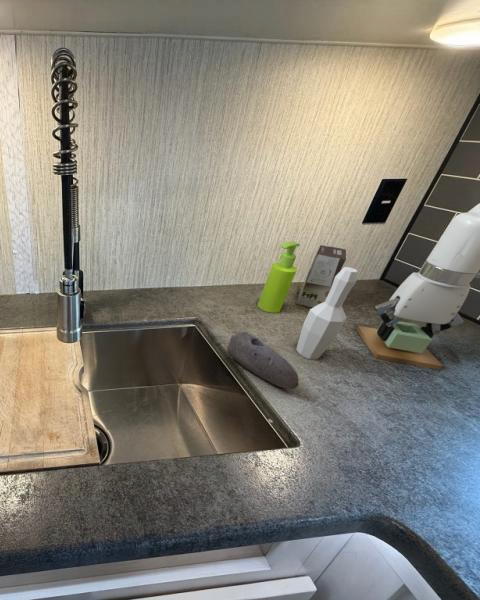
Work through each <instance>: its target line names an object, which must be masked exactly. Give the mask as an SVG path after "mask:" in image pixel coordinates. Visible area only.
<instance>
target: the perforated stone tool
mask: <svg viewBox="0 0 480 600" xmlns="http://www.w3.org/2000/svg"><path fill="white" fill-rule="evenodd" d="M230 336H231V337H230V339H229V342H228V344H227V349H226V351H227V354H228V355H229V356H230V357H231V358H232V359H233V360H234V361H236V362H237V363H238V364H239V365H240V366H241V367H243V368H244V369H246V370H248V371H250V372H251V373H253V374H254V375H256V376H258V377H260V378H261V379H263V380H265V381H267V382H268V383H270V384H272V385H274V386H276V387H280V388H282V389H286V390H294V389H297V388H298V387H299V386H300V385H299V374H298V372H297V371H296V370H295V368H294V367H293V366H292V364H291V363H290V362H288V360H287V359H286V358H284V357H283V356H282V355H281V354H280V353H278V352H277V351H276V350H275V349H274V348H272V347H271V346H270V345H268V344H267V343H265V342H264V341H262V339H259V338H258V337H256V336H254V335H252V334H250V333H249V332H247V331H243V332H237V333H236V334H235V333H234V334H233V335H230Z"/></svg>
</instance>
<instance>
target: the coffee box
mask: <svg viewBox="0 0 480 600" xmlns="http://www.w3.org/2000/svg"><path fill="white" fill-rule="evenodd" d="M346 261H347V249H345V248H341V247H335V246H329V245H322V244H320V245H319V247H318V249H317V251H316V254H315V256H314V258H313V261H312V263H311V265H310V268H309V270H308V272H307V275H306V277H305V279H304V281H303V284H302V286H301V289H300V292H299V294H298V298H297V302H296V303H297V304H298V305H301V306H305V307H309V308H311V309H312V308H313V307H315V306H317V305H319V304H321V303H323V302H325V300H326V298H327V296H328V294H329V292H330V290H331V287H332V284H333V282H334V279H335V276H336V275H337V274H338V273H339V272H340V271H341V270H342V269H343V268H344V267H343V266H344V264H345V262H346Z"/></svg>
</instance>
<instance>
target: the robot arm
mask: <svg viewBox="0 0 480 600" xmlns="http://www.w3.org/2000/svg"><path fill="white" fill-rule="evenodd" d="M474 279H480V203H478V204H476V205H475V206H474V207H473V208H471V209H469V211H467V212H461V213H459V214H456V215H455V216H454V217H453V218H452V219H451V221H450V222H449V224H448V225H447V227H446V229H445V230H444V231H443V233H442V235H441V236H440V238H439V240H438V241H437V242H436V244H435V246H433V249H432V250H431V252H430V254H429V255H428V256H427V258H426V260H425V261H424V263H423V264H422V266H421V268H420V269H419V271H418V272H412V273H411V274H410V275H408V276H407V278H406V279H405V280H404V281H402V283H401V284H400V285H399V286H398V288H397V289H395V291H394V292H393V294H392V295H391V297H390V298H389V300H387V301H385V302H382V303H380V304H376V305H374V310H375V311H376V312H377V314H378V316H379V318H380V319H381V320H382V322H383V323H382V322H381V324H380V325H381V326H380V325H379V327H378V328H379V329H378V328H377V329H378V330H377V334H378V336H379V337H380V338H381V340H383V341H386V340H387V339H388V337H389V336H390V334H391V333H392V331H393V330H394V327H393V325H395V324H396V323H398V322H399V321H400V322H402V320H409V321H415V322H420V323H421V322H422V323H425V326H421V327H420V328H421V329H422V330H423V331H424V332H425V333H426V334H427V335H428V336H429V337H430V338H431V339H432V338H433V336H434V335H439V334H440V333H441V332H442V331H446V330H449V329H451V328H452V327H456V326H459V325H462V324H463V323H464V322H465V321H464V319H463V318H462V317H461V315H460V314H459V311H460V310H461V308H462V306H463V305H464V303H465V301H466V299H467V297H468V295H469V292H470V290H471V284H470V283H471V282H472V281H473V280H474ZM387 310H391V311H389V312H388V313H387Z"/></svg>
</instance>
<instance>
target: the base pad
mask: <svg viewBox="0 0 480 600" xmlns="http://www.w3.org/2000/svg"><path fill="white" fill-rule="evenodd" d="M355 330H356V332H357V334H358V335H359V336H360V338H361V339H362V341H363V342H364V344H365V345H366V346H367V348H368V349H369V351H370V352H371V354H372V355H373V357H374V358H375V359H379V360H384V361H390V362H393V363H398V364H399V363H400V364H406V365H409V366H410V365H411V366H415V367H420V368H427V369H432V370H436V371H442V369H443V367H444V365H443V363H441V362H440V361H439V360H438V359H437V358H436V357H435V355H433V353H432V352H430V350H429V349H428V348H427V347H426V349H425V350H424V351H423V353H417V352H411V351H406V350H400V349H395V348H389V347H388V346H387V345H386V344H385V342H384V341H383V340H381V338H380V337H379V336H378V334H377V330H378V328H375V327H368V326H362V325H357V326H356V328H355ZM402 332H405V331H402Z"/></svg>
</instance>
